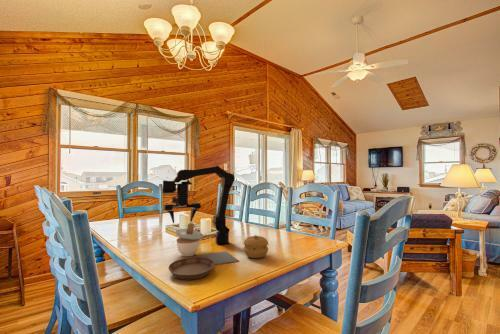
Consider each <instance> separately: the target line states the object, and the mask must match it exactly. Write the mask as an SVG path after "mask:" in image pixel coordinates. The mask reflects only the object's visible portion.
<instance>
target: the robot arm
mask: <svg viewBox="0 0 500 334" xmlns="http://www.w3.org/2000/svg"><path fill="white" fill-rule="evenodd" d="M211 174H212V175H213V174H215V175H217V176H218V177H219V178H220V179H221V193H220V196H219V197H220V199H219V204H218V208H217V213H216V215H213V216H212V221H211V223H212V226H213V228H214V229H216V234H215V240H214V241H215V243H216V244H217V245H219V246H222V245H228V244H231V242H229V241H230V240H229V239H230V238H229V236H230V235H229V234H230V228H229V227H227V222H226V212H227V205H228V200H229V195H230V191H231V188H232V187H233V184H234V182H235V179H236V178H235V175H234V174H233V173H230V172H228V171H226V170H224V169H223V168H221V167H220V166H219V165H214V166H210V167H204V168H197V169H179V170H178V171H177V173H176V177H175V178H173V180H163V181H162V186H161V188H162V189H161V190H162V194H165V195H166V194H175V192H176V196H174V197H173V196H172V197H171V203H164V204H163V210H164V211H165V212H167V213H169V215H170V218H171V221H172V224H175V215H174V214H175V212H174V210H173V209H186V208H187V209H189V208H190V218H189V221H190V222H189V223H192V222H193V219H194V217H195V215H196V213H197V211H199V209H202V204H201V203H200V202H191V203H189V186H190V185H193V184H192V182H191V179H192V178H195V177H199V176H205V175H211ZM180 182H181V183H180Z"/></svg>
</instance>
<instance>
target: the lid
mask: <svg viewBox="0 0 500 334" xmlns="http://www.w3.org/2000/svg"><path fill="white" fill-rule="evenodd" d="M194 228H195V223H192V222H188V223H187V228H178V229H176V230H175V235H176V236H177V237H178V238H180V237H181V238H184V239H189V240H198V239H200V240H201V239H203V237H204V235H203V233H202V232H200V231H198V230H195V229H194Z"/></svg>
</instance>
